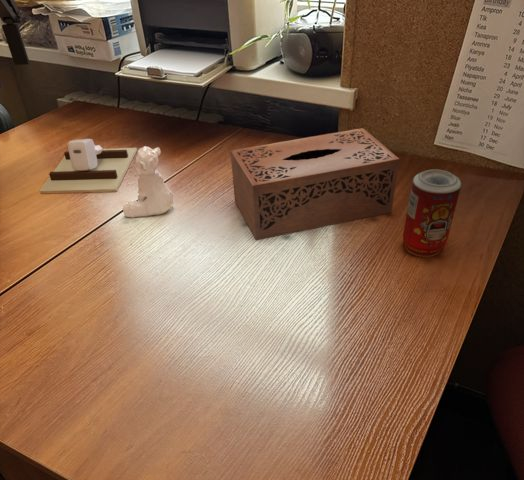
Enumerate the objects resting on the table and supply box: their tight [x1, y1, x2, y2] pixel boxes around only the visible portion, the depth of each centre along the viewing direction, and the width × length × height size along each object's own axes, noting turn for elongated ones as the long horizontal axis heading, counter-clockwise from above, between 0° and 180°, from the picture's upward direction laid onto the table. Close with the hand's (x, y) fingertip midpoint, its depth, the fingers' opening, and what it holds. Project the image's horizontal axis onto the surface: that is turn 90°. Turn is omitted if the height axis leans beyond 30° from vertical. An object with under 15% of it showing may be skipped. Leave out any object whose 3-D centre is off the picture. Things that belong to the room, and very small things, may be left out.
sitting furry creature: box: [122, 145, 174, 219], centre depth 92 cm, size 10×9×12 cm
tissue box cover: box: [230, 127, 400, 241], centre depth 91 cm, size 26×14×10 cm, turn 107°
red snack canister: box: [402, 168, 462, 258], centre depth 79 cm, size 7×7×12 cm
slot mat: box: [39, 147, 138, 195], centre depth 109 cm, size 16×20×2 cm
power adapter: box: [67, 138, 104, 171], centre depth 107 cm, size 11×5×6 cm, turn 178°
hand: (8, 75), depth 92 cm, fingers open, 13 cm apart
